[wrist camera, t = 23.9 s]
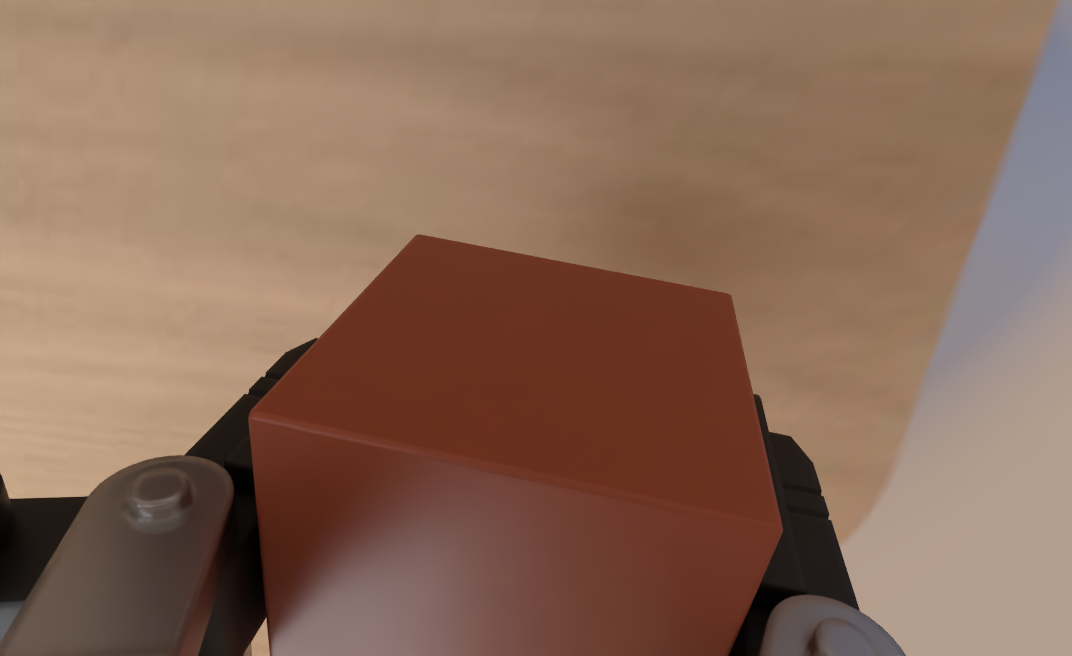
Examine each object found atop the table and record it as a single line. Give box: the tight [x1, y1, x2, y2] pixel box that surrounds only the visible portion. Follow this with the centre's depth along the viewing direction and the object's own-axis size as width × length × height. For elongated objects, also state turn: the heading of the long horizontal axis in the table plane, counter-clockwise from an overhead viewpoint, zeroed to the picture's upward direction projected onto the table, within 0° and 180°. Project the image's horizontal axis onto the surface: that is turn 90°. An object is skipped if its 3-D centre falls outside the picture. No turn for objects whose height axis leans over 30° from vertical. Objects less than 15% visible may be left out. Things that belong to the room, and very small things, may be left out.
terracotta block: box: [248, 234, 783, 656], centre depth 8 cm, size 4×4×4 cm
